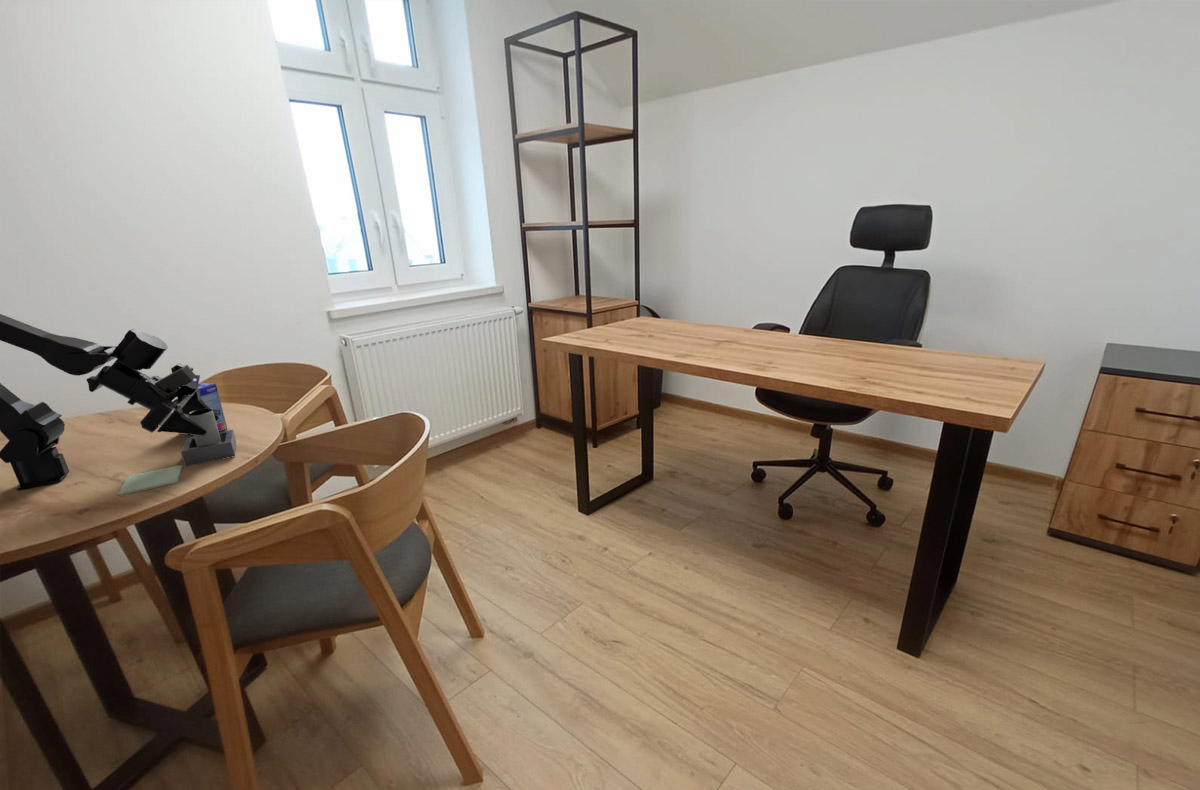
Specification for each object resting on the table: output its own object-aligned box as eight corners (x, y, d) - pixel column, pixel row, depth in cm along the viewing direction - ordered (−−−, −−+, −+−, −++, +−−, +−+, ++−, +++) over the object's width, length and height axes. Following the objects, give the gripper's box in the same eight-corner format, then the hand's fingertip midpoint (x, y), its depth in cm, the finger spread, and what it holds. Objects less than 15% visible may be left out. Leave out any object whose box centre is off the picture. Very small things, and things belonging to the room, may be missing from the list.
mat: (119, 495, 101) (118, 493, 101) (128, 477, 108) (128, 476, 108) (177, 482, 105) (176, 481, 105) (182, 466, 113) (182, 464, 112)
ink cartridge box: (229, 428, 134) (214, 374, 129) (210, 436, 129) (194, 380, 124) (197, 426, 136) (182, 373, 131) (177, 434, 131) (160, 379, 126)
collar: (185, 466, 113) (181, 451, 111) (190, 452, 120) (186, 438, 119) (234, 456, 117) (230, 442, 116) (236, 443, 124) (232, 429, 123)
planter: (220, 448, 121) (208, 407, 118) (227, 453, 119) (215, 410, 115) (197, 455, 118) (184, 412, 115) (203, 460, 115) (190, 416, 112)
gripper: (142, 366, 101) (223, 411, 109) (176, 347, 118) (245, 387, 125) (105, 411, 101) (189, 452, 108) (144, 385, 118) (214, 423, 125)
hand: (211, 426), depth 117 cm, fingers open, 9 cm apart
